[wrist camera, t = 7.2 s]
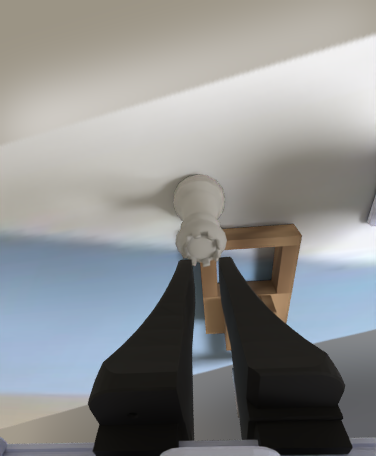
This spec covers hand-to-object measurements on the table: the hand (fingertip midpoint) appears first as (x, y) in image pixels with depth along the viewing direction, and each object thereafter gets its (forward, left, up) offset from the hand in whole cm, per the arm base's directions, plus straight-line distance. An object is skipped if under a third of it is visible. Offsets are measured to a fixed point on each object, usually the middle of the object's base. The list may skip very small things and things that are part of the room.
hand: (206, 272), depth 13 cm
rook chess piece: (0, 0, -10) cm, 10 cm away
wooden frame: (-4, +10, -10) cm, 15 cm away
